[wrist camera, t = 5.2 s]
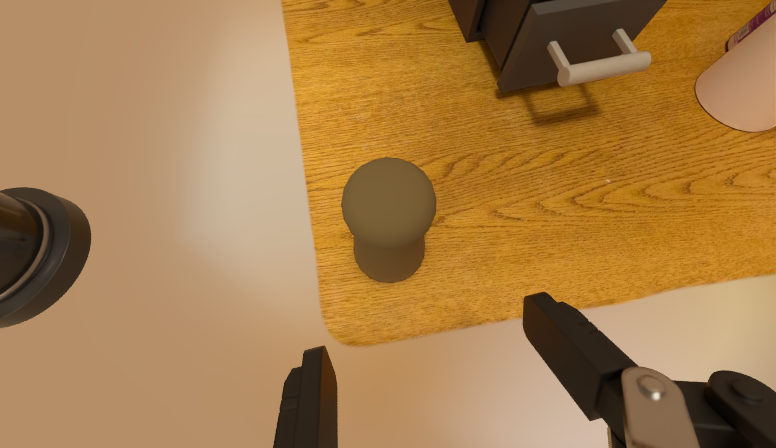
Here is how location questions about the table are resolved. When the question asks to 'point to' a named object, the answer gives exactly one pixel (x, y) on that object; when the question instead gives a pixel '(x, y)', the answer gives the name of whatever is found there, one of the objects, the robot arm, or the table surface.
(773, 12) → the pill bottle
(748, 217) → the table surface
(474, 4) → the small storage chest
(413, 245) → the pepper shaker
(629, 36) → the drawer
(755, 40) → the cup
